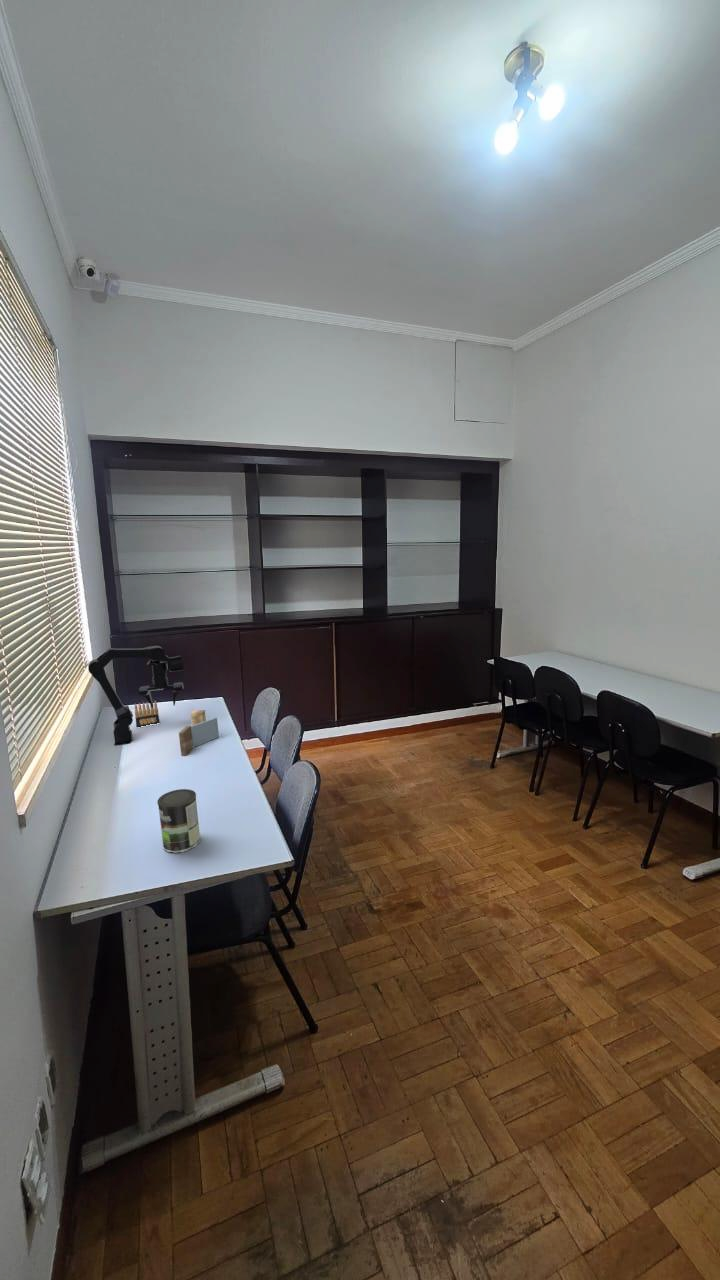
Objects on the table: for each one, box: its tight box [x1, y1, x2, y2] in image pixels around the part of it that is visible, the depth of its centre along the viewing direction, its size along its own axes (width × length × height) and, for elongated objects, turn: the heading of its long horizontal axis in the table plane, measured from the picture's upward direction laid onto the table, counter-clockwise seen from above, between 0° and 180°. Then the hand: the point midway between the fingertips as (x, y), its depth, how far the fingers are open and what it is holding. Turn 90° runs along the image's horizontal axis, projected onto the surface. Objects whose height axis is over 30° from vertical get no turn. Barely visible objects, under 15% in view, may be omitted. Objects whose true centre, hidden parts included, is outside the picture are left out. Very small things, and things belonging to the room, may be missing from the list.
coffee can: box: [157, 788, 201, 854], centre depth 146 cm, size 10×10×14 cm
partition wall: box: [178, 725, 194, 757], centre depth 213 cm, size 2×8×10 cm, turn 177°
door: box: [190, 717, 220, 748], centre depth 223 cm, size 1×13×9 cm, turn 142°
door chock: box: [190, 709, 207, 726], centre depth 228 cm, size 5×4×12 cm
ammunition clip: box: [134, 700, 161, 728], centre depth 249 cm, size 11×2×12 cm, turn 113°
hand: (163, 706), depth 235 cm, fingers open, 9 cm apart
